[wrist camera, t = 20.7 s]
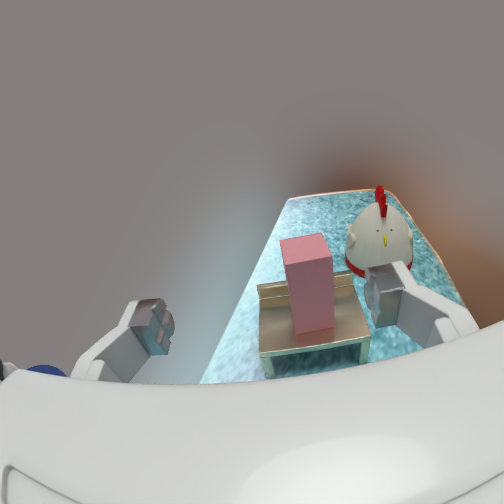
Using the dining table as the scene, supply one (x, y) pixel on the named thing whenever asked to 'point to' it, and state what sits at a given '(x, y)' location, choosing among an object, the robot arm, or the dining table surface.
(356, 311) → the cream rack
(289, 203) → the dining table surface
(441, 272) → the dining table surface
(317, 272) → the pink carton
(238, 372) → the dining table surface
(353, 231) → the kitchen timer
